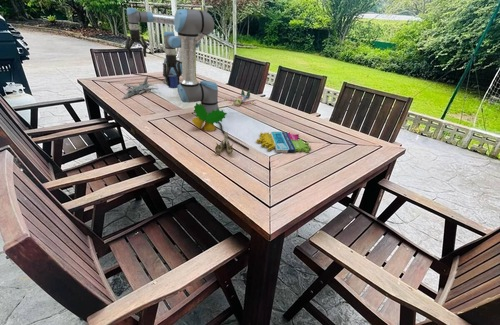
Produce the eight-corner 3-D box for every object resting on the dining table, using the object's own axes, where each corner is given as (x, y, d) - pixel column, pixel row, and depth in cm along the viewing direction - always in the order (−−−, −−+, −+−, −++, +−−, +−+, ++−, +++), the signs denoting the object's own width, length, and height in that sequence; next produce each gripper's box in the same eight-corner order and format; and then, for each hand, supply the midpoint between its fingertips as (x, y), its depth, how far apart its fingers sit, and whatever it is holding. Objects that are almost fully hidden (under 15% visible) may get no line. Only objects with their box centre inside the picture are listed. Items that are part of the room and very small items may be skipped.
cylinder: (180, 87, 208) (179, 76, 204) (171, 88, 204) (170, 76, 199) (175, 85, 213) (174, 74, 209) (166, 86, 208) (165, 75, 204)
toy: (261, 91, 228) (254, 99, 202) (261, 99, 231) (253, 108, 205) (231, 87, 233) (220, 95, 207) (230, 95, 236) (219, 104, 210)
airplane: (117, 88, 232) (115, 76, 227) (154, 85, 245) (152, 75, 240) (121, 101, 204) (118, 88, 199) (162, 97, 217) (161, 85, 212)
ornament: (218, 133, 171) (224, 110, 169) (221, 134, 163) (227, 111, 161) (186, 125, 162) (192, 101, 160) (189, 126, 155) (195, 101, 153)
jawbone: (234, 135, 144) (233, 125, 135) (233, 160, 138) (232, 151, 129) (217, 135, 144) (216, 125, 135) (216, 160, 138) (214, 150, 129)
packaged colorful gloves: (313, 150, 142) (258, 149, 139) (312, 153, 143) (258, 152, 140) (301, 132, 164) (254, 130, 161) (301, 134, 165) (254, 133, 162)
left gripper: (122, 30, 203) (127, 59, 213) (150, 30, 221) (153, 56, 231) (117, 29, 206) (122, 57, 216) (144, 29, 224) (147, 55, 235)
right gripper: (179, 53, 205) (181, 82, 216) (155, 54, 192) (159, 85, 203) (185, 54, 201) (186, 84, 212) (160, 55, 188) (164, 87, 199)
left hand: (138, 57), depth 224 cm, fingers open, 13 cm apart
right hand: (173, 85), depth 208 cm, fingers closed on cylinder, 8 cm apart
